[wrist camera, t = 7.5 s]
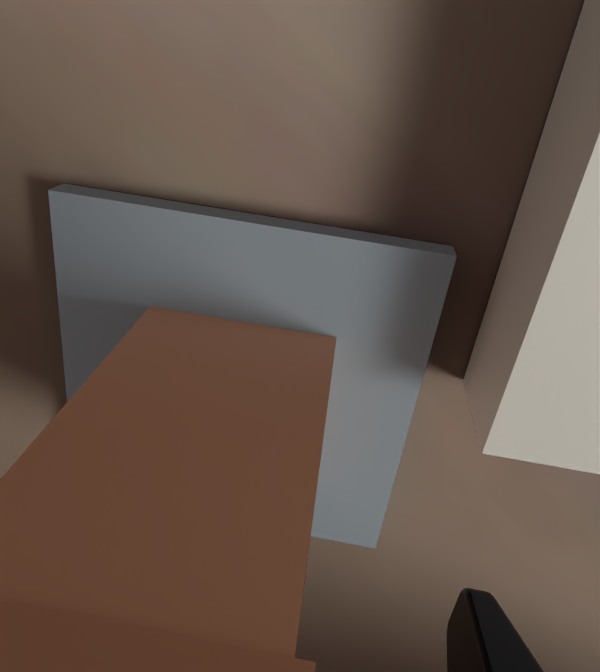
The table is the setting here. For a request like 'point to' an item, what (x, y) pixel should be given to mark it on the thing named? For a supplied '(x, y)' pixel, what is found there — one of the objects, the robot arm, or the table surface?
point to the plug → (169, 505)
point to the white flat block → (549, 289)
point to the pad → (265, 315)
